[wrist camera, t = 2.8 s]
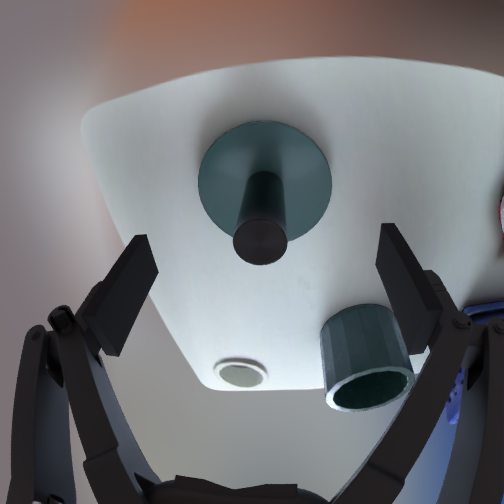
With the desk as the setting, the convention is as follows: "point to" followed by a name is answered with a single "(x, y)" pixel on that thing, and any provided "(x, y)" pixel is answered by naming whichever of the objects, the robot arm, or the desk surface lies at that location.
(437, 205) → the desk surface
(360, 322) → the pot
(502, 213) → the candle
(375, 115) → the desk surface
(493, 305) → the flower pot
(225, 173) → the lid
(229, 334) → the desk surface
